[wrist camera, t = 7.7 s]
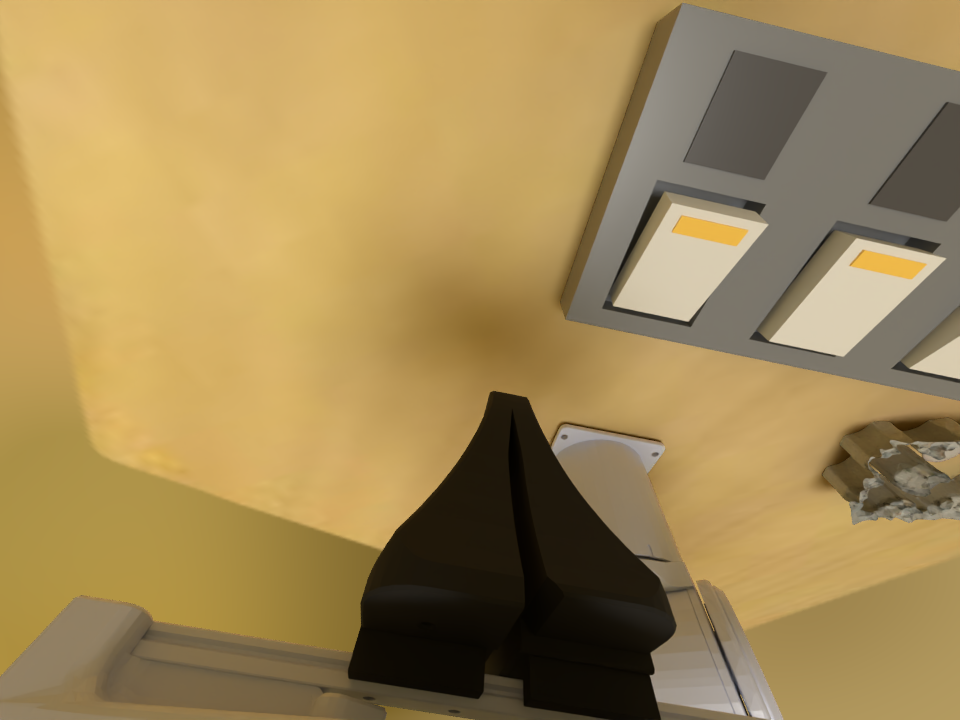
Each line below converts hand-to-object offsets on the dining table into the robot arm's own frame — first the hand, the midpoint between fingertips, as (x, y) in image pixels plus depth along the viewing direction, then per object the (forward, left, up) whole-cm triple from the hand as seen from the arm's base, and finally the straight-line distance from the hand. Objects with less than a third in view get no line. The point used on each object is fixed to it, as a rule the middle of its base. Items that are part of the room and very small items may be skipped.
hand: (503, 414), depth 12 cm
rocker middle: (+5, -15, -7) cm, 17 cm away
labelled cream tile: (+5, -7, -7) cm, 11 cm away
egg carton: (-5, -31, -10) cm, 33 cm away
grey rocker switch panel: (+7, -15, -9) cm, 19 cm away
